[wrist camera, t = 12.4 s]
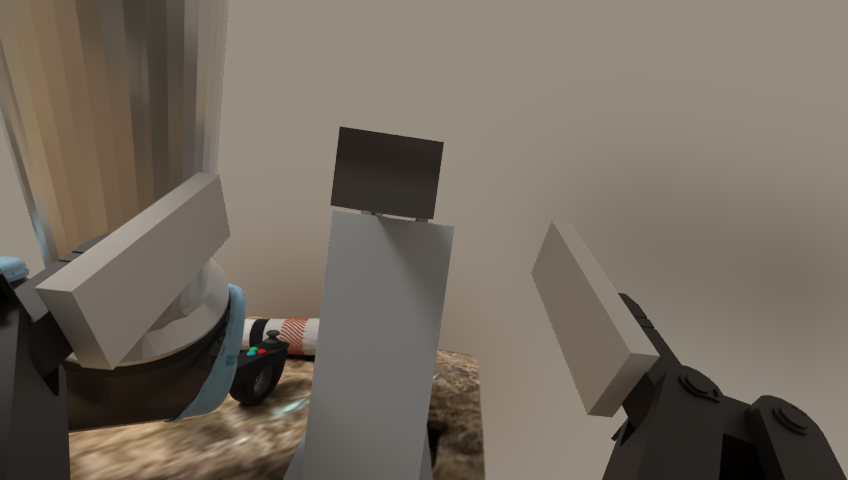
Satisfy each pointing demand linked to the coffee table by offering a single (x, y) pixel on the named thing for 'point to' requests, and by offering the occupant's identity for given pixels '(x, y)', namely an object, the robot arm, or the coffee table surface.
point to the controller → (259, 369)
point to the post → (375, 350)
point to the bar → (386, 173)
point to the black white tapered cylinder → (284, 333)
